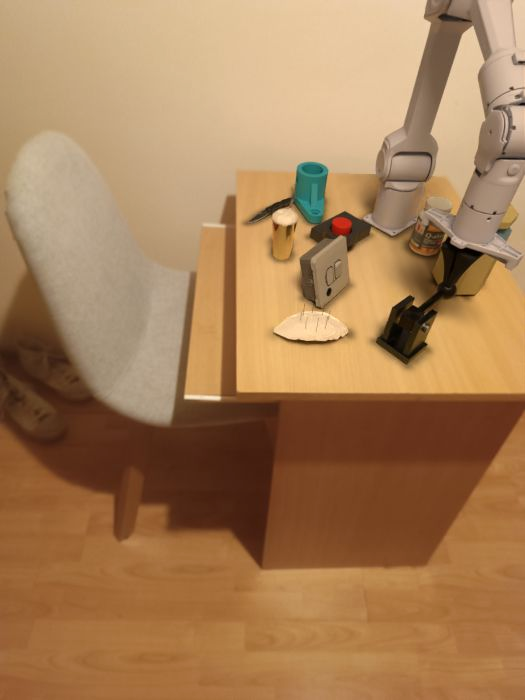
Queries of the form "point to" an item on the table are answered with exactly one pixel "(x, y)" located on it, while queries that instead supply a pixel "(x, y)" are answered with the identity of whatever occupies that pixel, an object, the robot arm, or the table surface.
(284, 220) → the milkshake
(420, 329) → the bracket
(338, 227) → the button
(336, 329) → the pincushion
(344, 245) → the electrical switch
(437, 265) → the jar
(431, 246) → the pill bottle
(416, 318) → the lever
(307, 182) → the bracket
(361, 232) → the control block
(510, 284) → the table surface
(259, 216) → the folding knife
